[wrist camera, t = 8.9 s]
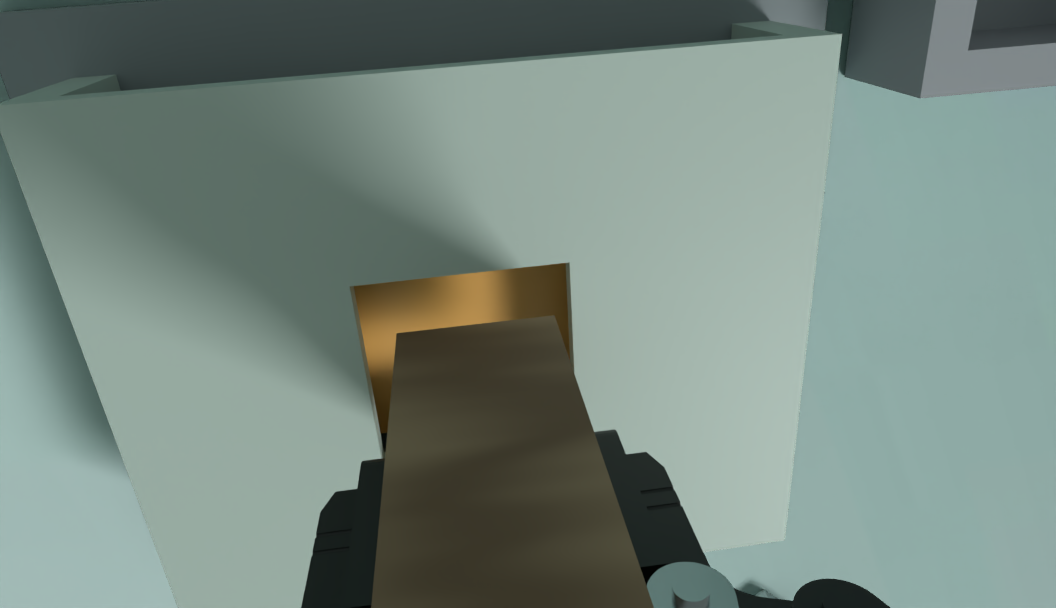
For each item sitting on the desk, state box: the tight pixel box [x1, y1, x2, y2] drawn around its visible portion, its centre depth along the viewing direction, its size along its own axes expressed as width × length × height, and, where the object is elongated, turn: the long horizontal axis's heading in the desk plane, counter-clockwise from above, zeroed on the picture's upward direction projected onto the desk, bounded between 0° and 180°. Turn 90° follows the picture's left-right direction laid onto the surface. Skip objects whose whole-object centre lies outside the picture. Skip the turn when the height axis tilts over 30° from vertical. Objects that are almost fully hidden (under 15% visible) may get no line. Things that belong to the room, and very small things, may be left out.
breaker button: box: [354, 263, 570, 433], centre depth 20 cm, size 6×6×1 cm
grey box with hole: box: [0, 0, 842, 608], centre depth 20 cm, size 20×17×5 cm
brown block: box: [371, 315, 654, 608], centre depth 13 cm, size 4×4×9 cm
